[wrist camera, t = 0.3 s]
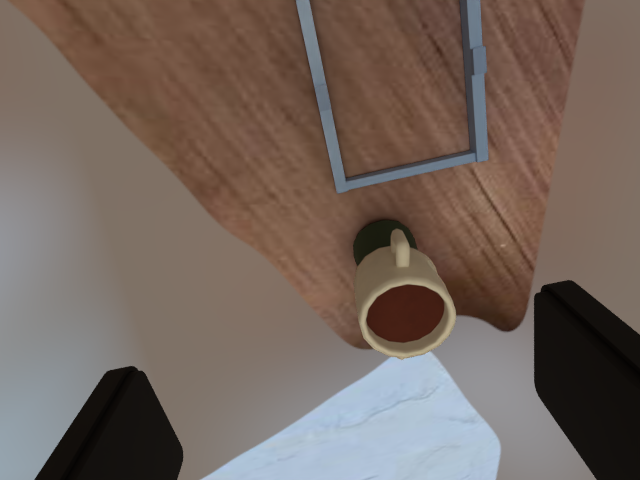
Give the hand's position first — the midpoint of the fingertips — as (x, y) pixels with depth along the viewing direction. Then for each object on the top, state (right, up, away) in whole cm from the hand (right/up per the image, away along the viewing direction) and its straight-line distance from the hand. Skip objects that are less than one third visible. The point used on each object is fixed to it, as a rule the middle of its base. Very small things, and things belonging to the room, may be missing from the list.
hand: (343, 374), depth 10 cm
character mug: (+6, +3, +32) cm, 32 cm away
